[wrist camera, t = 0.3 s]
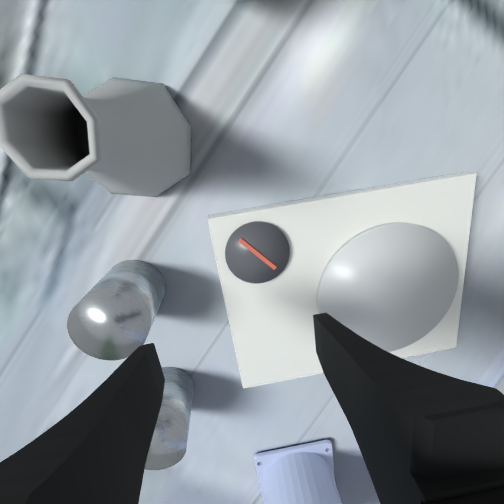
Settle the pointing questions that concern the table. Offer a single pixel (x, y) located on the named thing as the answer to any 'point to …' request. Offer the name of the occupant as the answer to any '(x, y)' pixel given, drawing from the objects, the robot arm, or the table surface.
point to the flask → (96, 133)
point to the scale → (344, 272)
